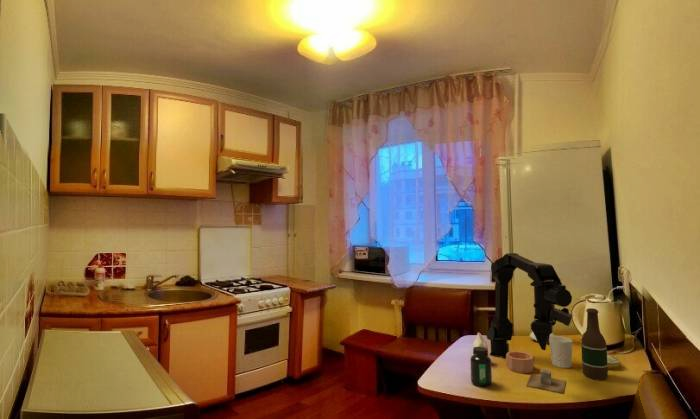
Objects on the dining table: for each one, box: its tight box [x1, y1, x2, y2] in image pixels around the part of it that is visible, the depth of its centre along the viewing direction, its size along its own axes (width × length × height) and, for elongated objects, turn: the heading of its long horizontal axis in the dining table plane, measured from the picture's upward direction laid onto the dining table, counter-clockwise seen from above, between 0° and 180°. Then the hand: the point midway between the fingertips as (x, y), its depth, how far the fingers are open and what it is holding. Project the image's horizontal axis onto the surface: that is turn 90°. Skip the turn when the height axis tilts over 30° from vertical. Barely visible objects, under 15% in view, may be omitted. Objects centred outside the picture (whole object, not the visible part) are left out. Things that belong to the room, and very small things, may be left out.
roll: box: [472, 332, 489, 350], centre depth 150 cm, size 6×12×6 cm
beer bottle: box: [580, 307, 609, 381], centre depth 136 cm, size 8×8×24 cm
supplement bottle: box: [470, 347, 493, 388], centre depth 131 cm, size 7×7×12 cm
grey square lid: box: [525, 368, 567, 395], centre depth 130 cm, size 11×11×5 cm
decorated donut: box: [607, 353, 622, 371], centre depth 145 cm, size 10×11×4 cm
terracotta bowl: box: [505, 350, 535, 374], centre depth 144 cm, size 9×9×5 cm
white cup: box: [548, 335, 573, 369], centre depth 146 cm, size 8×8×10 cm
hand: (545, 346), depth 130 cm, fingers open, 9 cm apart
